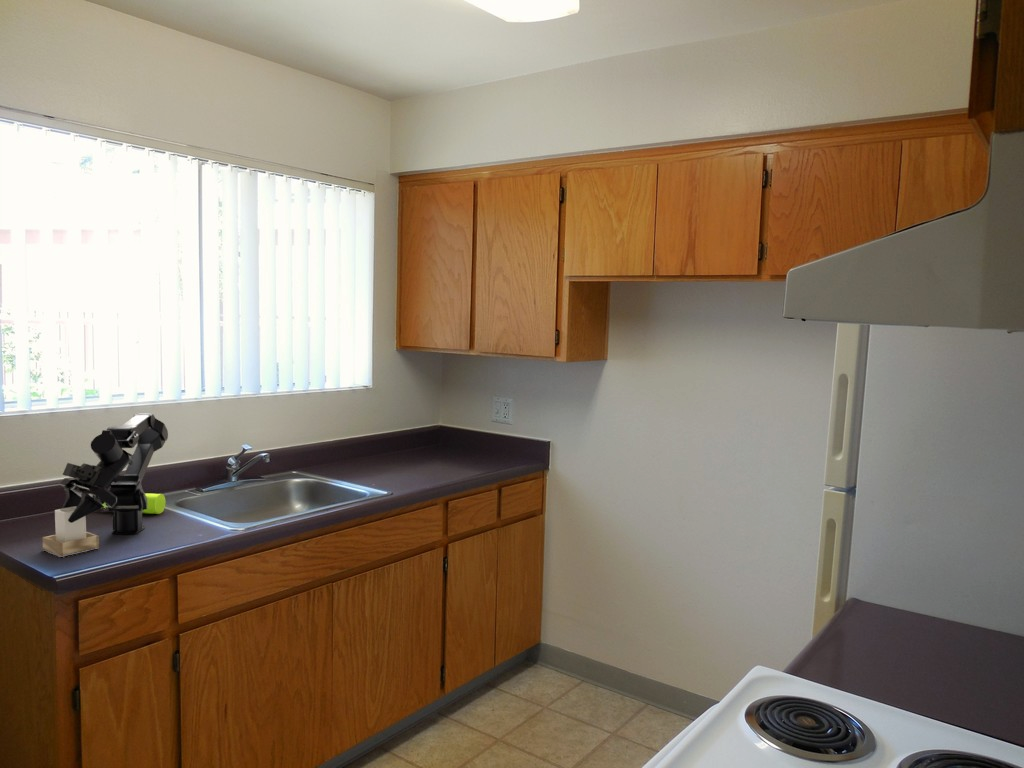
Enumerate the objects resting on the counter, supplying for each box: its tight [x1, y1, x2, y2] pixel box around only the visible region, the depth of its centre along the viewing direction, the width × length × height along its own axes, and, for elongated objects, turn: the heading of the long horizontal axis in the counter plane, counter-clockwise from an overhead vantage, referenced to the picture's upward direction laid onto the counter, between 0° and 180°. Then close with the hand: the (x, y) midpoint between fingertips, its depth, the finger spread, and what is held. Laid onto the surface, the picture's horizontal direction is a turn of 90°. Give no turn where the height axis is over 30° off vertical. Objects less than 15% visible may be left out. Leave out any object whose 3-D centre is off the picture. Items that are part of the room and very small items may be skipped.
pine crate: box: [42, 530, 100, 556], centre depth 190 cm, size 9×9×4 cm
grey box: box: [54, 506, 87, 543], centre depth 189 cm, size 5×5×9 cm
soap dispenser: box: [103, 492, 167, 515], centre depth 228 cm, size 6×7×20 cm
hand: (64, 519), depth 188 cm, fingers closed on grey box, 5 cm apart
